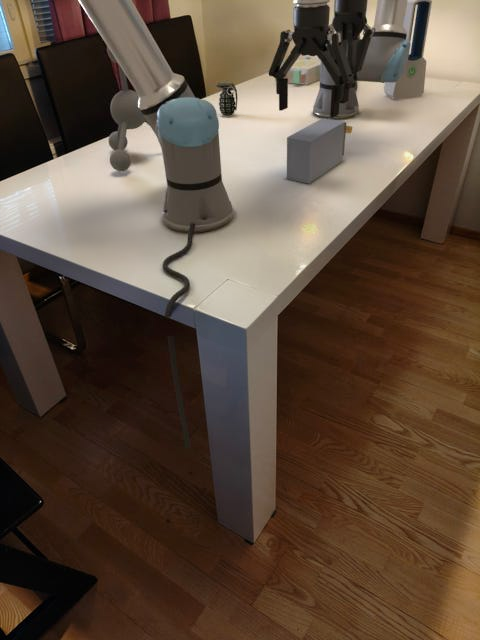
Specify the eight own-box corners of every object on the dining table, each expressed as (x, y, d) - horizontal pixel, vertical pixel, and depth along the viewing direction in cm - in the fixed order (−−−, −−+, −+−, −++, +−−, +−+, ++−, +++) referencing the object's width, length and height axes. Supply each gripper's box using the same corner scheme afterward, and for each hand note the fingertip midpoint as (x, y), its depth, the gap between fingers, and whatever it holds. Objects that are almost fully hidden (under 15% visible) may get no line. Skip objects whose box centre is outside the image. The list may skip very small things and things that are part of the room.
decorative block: (298, 54, 217) (338, 57, 207) (297, 70, 220) (337, 74, 211) (266, 66, 200) (309, 70, 191) (266, 83, 204) (308, 87, 195)
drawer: (335, 146, 137) (338, 114, 132) (353, 149, 135) (356, 116, 129) (295, 171, 124) (296, 137, 118) (313, 175, 121) (315, 140, 116)
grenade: (217, 117, 168) (214, 86, 162) (221, 112, 172) (219, 82, 166) (235, 117, 166) (233, 86, 160) (239, 113, 171) (238, 82, 165)
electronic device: (392, 100, 174) (405, 0, 156) (382, 95, 180) (394, -2, 162) (423, 96, 177) (440, -3, 158) (412, 91, 182) (427, -5, 164)
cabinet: (320, 157, 133) (322, 118, 127) (341, 161, 130) (345, 121, 124) (286, 178, 122) (286, 137, 116) (309, 183, 119) (310, 141, 113)
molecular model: (194, 162, 134) (180, 38, 116) (114, 177, 128) (87, 49, 110) (171, 138, 152) (156, 27, 133) (100, 151, 146) (75, 36, 127)
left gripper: (376, 3, 97) (364, 114, 110) (270, 2, 109) (272, 102, 122) (359, 7, 92) (350, 123, 105) (251, 6, 104) (255, 110, 117)
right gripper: (385, -9, 111) (372, 101, 125) (333, -9, 117) (327, 95, 132) (371, -6, 106) (360, 108, 121) (318, -6, 113) (313, 102, 127)
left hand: (308, 112), depth 114 cm, fingers open, 13 cm apart
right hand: (343, 101), depth 126 cm, fingers closed
